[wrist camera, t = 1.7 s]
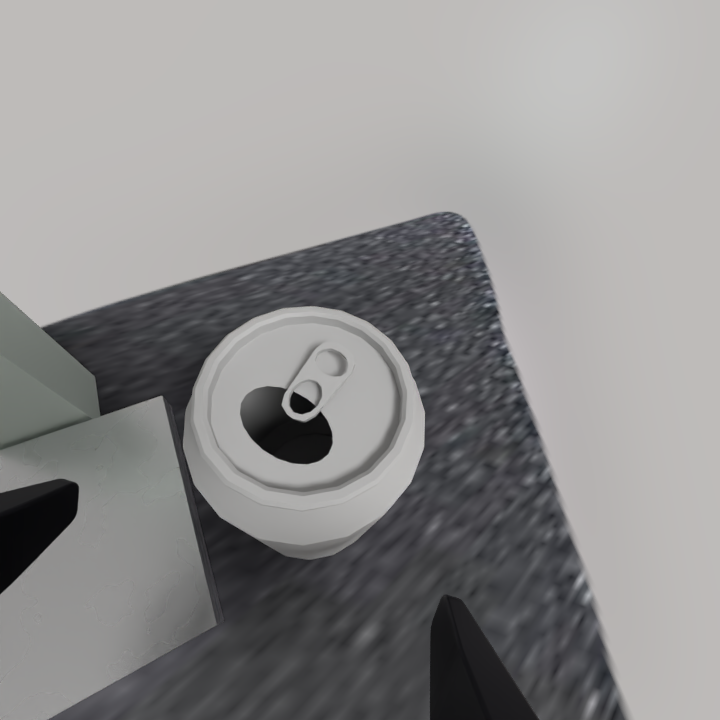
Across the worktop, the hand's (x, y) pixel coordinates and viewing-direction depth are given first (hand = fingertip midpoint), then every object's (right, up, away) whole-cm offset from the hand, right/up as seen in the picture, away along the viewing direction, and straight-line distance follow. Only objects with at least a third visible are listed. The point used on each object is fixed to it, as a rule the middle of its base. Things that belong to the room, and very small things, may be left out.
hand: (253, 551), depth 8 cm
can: (0, -3, +12) cm, 12 cm away
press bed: (-12, -5, +9) cm, 15 cm away
